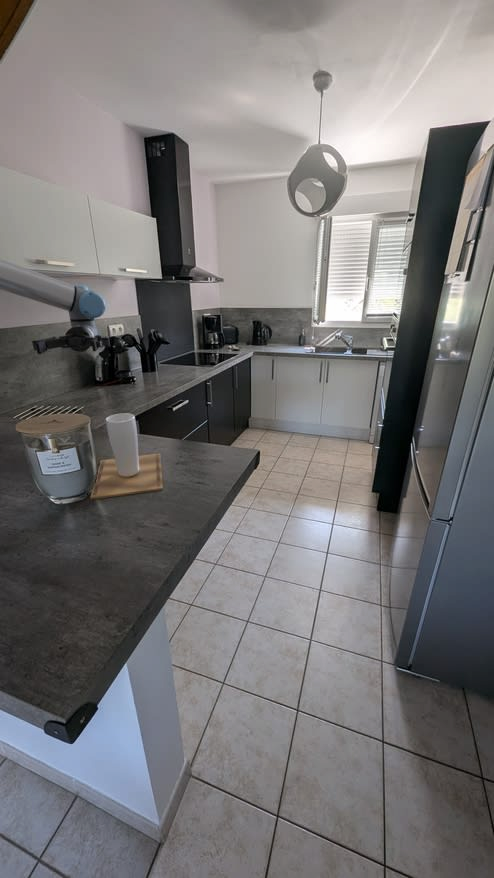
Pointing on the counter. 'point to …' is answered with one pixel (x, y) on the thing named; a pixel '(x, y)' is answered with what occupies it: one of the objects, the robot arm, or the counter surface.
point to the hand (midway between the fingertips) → (66, 347)
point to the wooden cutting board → (128, 478)
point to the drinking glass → (124, 443)
